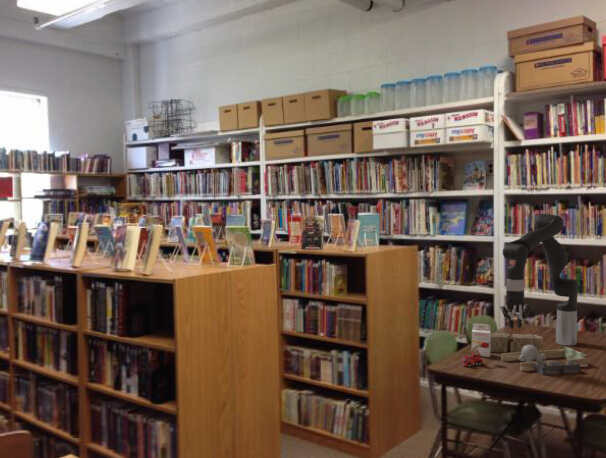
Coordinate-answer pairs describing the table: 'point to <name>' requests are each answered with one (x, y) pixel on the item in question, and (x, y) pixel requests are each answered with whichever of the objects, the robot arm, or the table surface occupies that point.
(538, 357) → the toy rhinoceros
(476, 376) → the table surface
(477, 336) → the ink cartridge box
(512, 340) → the block tower
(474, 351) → the toy fire truck
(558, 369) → the trap channel
